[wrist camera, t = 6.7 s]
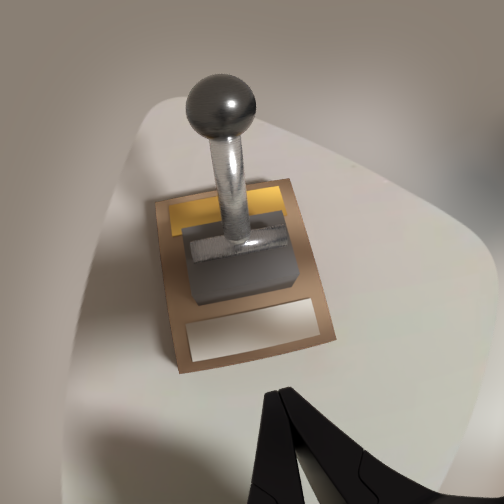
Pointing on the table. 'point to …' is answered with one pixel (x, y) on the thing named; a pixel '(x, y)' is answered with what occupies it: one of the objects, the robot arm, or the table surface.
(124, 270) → the table surface
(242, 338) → the switch unit
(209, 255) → the lever
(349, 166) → the table surface
